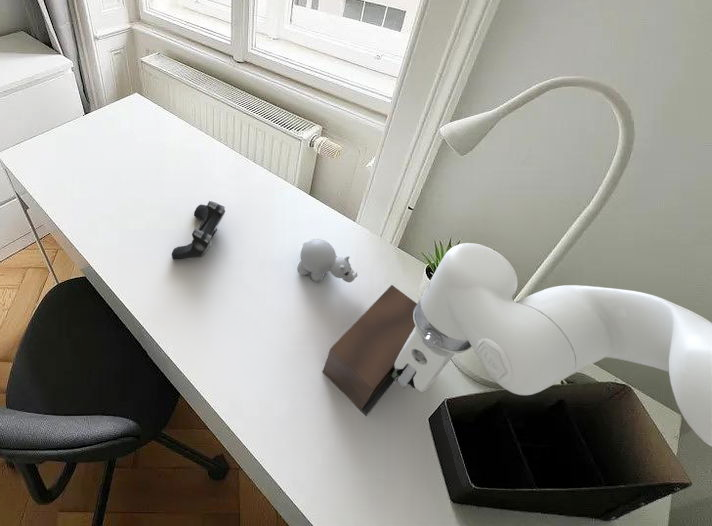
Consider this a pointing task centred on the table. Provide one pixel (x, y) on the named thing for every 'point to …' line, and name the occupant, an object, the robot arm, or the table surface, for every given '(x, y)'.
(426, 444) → the table surface
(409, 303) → the cabinet
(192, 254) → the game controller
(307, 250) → the round bodied animal figurine
